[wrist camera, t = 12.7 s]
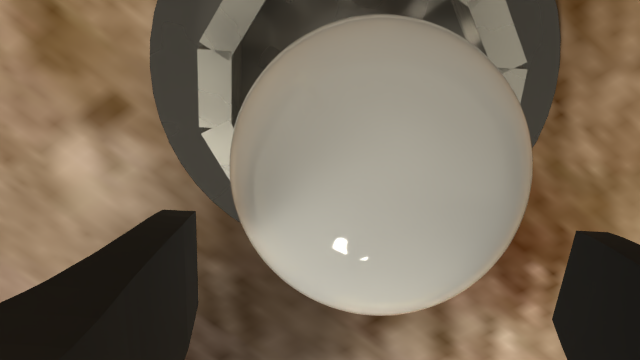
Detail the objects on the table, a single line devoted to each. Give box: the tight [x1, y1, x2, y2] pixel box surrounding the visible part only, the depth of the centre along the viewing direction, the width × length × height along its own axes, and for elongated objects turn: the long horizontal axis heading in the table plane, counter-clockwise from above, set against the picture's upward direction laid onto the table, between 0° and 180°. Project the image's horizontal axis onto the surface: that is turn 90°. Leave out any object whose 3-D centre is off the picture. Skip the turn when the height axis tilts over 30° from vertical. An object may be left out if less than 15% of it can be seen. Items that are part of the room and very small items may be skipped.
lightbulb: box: [229, 14, 533, 316], centre depth 14 cm, size 6×6×11 cm
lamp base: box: [150, 0, 560, 223], centre depth 19 cm, size 14×14×3 cm
